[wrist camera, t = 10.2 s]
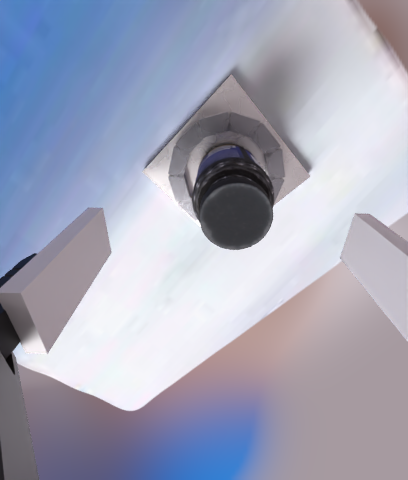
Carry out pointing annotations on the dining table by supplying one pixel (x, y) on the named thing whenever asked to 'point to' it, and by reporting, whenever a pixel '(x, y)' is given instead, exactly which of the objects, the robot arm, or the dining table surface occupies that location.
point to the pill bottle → (233, 198)
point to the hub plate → (220, 133)
